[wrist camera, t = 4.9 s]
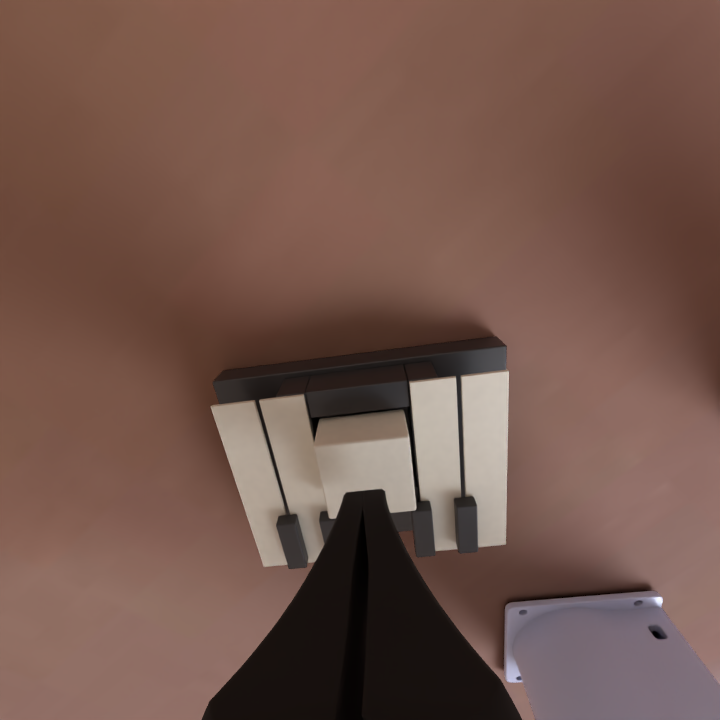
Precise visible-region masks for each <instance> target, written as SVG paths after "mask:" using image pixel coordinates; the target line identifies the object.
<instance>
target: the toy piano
mask: <svg viewBox="0 0 720 720" xmlns="http://www.w3.org/2000/svg"><path fill="white" fill-rule="evenodd" d="M506 350H507V346H506V345H505V344H504V343H503V342H502V341H501V340H500V339H499V338H498V337H496V336H495V337H487V338H479V339H471V340H463V341H456V342H448V343H440V344H432V345H424V346H416V347H408V348H400V349H392V350H384V351H376V352H368V353H360V354H352V355H344V356H336V357H328V358H321V359H313V360H305V361H297V362H289V363H281V364H273V365H265V366H257V367H249V368H241V369H233V370H225V371H222V372H221V373H220V374H219V375H218V377H217V378H216V379H215V380H214V381H213V386H214V389H215V392H216V395H217V398H218V401H219V404H226V403H235V402H243V401H251V400H255V402H256V406H257V410H258V413H259V417H260V420H261V424H262V427H263V431H264V435H265V438H266V442H267V445H268V449H269V452H270V456H271V460H272V463H273V467H274V470H275V474H276V478H277V481H278V485H279V488H280V492H281V495H282V499H283V503H284V506H285V510H286V513H287V515H290V512H289V508H288V505H287V501H286V497H285V494H284V490H283V487H282V483H281V479H280V476H279V472H278V468H277V465H276V461H275V457H274V454H273V450H272V446H271V443H270V439H269V436H268V432H267V428H266V425H265V421H264V417H263V414H262V410H261V406H260V403H259V400H260V399H268V398H276V397H285V396H293V395H301V394H304V398H305V402H306V407H307V411H308V416H309V420H310V425H311V429H312V434H313V438H314V442H315V437H316V432H317V428H318V423H319V419H322V418H330V417H339V416H348V415H356V414H365V413H373V412H382V411H391V410H399V409H403V410H404V413H405V418H406V423H407V428H408V433H409V438H410V448H411V458H412V467H413V477H414V487H415V497H416V502H421V499H420V489H419V479H418V468H417V458H416V448H415V437H414V427H413V416H412V406H411V396H410V385H409V381H418V380H426V379H434V378H442V377H451V376H456V386H457V409H458V433H459V456H460V480H461V497H465V479H464V452H463V425H462V399H461V375H467V374H476V373H484V372H492V371H501V370H506ZM391 516H392V519H393V522H394V524H395V526H396V529H397V531H398V532H401V531H412V530H413V526H412V517H411V511H405V512H395V513H391Z"/></svg>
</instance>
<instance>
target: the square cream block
mask: <svg viewBox="0 0 720 720" xmlns="http://www.w3.org/2000/svg"><path fill="white" fill-rule="evenodd" d="M313 449H314V453H315V458H316V462H317V467H318V471H319V476H320V480H321V485H322V489H323V494H324V498H325V502H326V507H327V511H328V516H329V518H330V519H334V518H336V517H337V514H338V511H339V509H340V506H341V503H342V500H343V496H344V494H345V493H346V492H354V491H364V490H374V489H383V490H384V491H385V493H386V500H387V504H388V507H389V511H390V513H395V512H405V511H415V510H416V508H417V506H416V497H415V487H414V477H413V467H412V458H411V448H410V438H409V433H408V428H407V423H406V418H405V413H404V410H403V409H399V410H391V411H382V412H373V413H365V414H356V415H348V416H339V417H330V418H322V419H319V423H318V428H317V432H316V437H315V442H314V446H313Z"/></svg>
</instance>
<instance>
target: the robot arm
mask: <svg viewBox="0 0 720 720" xmlns="http://www.w3.org/2000/svg"><path fill="white" fill-rule="evenodd" d="M662 602H663V598H662V597H661V596H660V594H659V593H658V592H656V591H642V592H630V593H617V594H605V595H593V596H581V597H569V598H557V599H545V600H532V601H520V602H511V603H508V604H507V605H506V607H505V637H504V676H505V679H506V680H507V681H508V682H512V683H513V682H523V685H524V688H525V690H526V693H527V696H528V699H529V702H530V705H531V708H532V711H533V714H534V717H535V720H720V684H719V683H718V682H717V680H716V679H715V678H714V676H713V675H712V674H711V673H710V671H709V670H708V669H707V667H706V666H705V665H704V663H703V662H702V661H701V659H700V658H699V657H698V655H697V654H696V653H695V651H694V650H693V649H692V647H691V646H690V645H689V643H688V642H687V641H686V639H685V638H684V637H683V635H682V634H681V633H680V632H679V630H678V629H677V628H676V626H675V625H674V624H673V622H672V621H671V620H670V618H669V617H668V616H667V614H666V613H665V612H664V610H663V609H662V608H661V606H662ZM202 720H522V718H521V716H520V714H519V712H518V710H517V709H516V707H515V705H514V703H513V701H512V699H511V698H510V696H509V694H508V692H507V690H506V689H505V687H504V685H503V683H502V681H501V680H500V679H499V677H498V676H497V675H496V674H495V673H494V672H493V671H492V670H491V668H490V667H489V666H488V665H487V664H486V663H485V662H484V660H483V659H482V658H481V657H480V656H479V655H478V653H477V652H476V651H475V650H474V649H473V648H472V646H471V645H470V644H469V643H468V641H467V640H466V639H465V638H464V636H463V635H462V634H461V633H460V631H459V630H458V629H457V627H456V626H455V625H454V623H453V622H452V621H451V619H450V618H449V617H448V615H447V614H446V613H445V611H444V610H443V608H442V607H441V606H440V604H439V603H438V601H437V600H436V598H435V597H434V595H433V594H432V592H431V591H430V589H429V588H428V586H427V585H426V583H425V582H424V580H423V578H422V577H421V575H420V573H419V572H418V570H417V568H416V566H415V565H414V563H413V561H412V559H411V557H410V556H409V554H408V552H407V550H406V548H405V546H404V544H403V542H402V540H401V538H400V535H399V533H398V531H397V529H396V526H395V524H394V522H393V519H392V516H391V513H390V511H389V507H388V504H387V500H386V493H385V491H384V490H383V489H374V490H364V491H354V492H346V493H345V494H344V496H343V500H342V503H341V506H340V509H339V511H338V514H337V517H336V519H335V522H334V524H333V526H332V529H331V531H330V533H329V535H328V537H327V540H326V542H325V544H324V546H323V548H322V550H321V552H320V554H319V556H318V558H317V560H316V561H315V563H314V565H313V567H312V569H311V571H310V573H309V574H308V576H307V578H306V579H305V581H304V583H303V584H302V586H301V588H300V589H299V591H298V592H297V594H296V596H295V597H294V599H293V600H292V602H291V603H290V605H289V606H288V607H287V609H286V610H285V612H284V613H283V615H282V616H281V618H280V619H279V620H278V622H277V623H276V624H275V626H274V627H273V628H272V630H271V631H270V632H269V634H268V635H267V636H266V637H265V639H264V640H263V641H262V642H261V644H260V645H259V646H258V647H257V649H256V650H255V651H254V652H253V654H252V655H251V656H250V657H249V658H248V660H247V661H246V662H245V663H244V664H243V665H242V667H241V668H240V669H239V670H238V671H237V672H236V673H235V674H234V675H233V676H232V678H231V679H230V680H229V681H228V682H227V683H226V684H225V685H224V686H223V687H222V688H221V690H220V691H219V692H218V693H217V694H216V695H215V696H214V697H213V698H212V699H211V700H210V702H209V704H208V706H207V708H206V711H205V713H204V715H203V718H202Z"/></svg>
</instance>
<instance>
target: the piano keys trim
mask: <svg viewBox="0 0 720 720" xmlns="http://www.w3.org/2000/svg"><path fill="white" fill-rule="evenodd" d="M409 385H410V396H411V406H412V416H413V427H414V437H415V448H416V458H417V468H418V479H419V489H420V499H421V502H416V506H417V508H416V510H415V511H411V517H412V526H413V535H414V544H415V552H416V556H417V557H427V556H435V554H436V553H435V551H442V550H453V549H458V552H459V553H460V554H461V553H471V552H478V547H486V546H497V545H506V504H507V447H508V390H509V371H508V370H501V371H492V372H484V373H476V374H467V375H461V399H462V425H463V452H464V479H465V497H461V480H460V456H459V433H458V409H457V386H456V376H451V377H442V378H434V379H426V380H418V381H409ZM259 403H260V406H261V410H262V414H263V417H264V421H265V425H266V428H267V432H268V436H269V439H270V443H271V446H272V450H273V454H274V457H275V461H276V465H277V468H278V472H279V476H280V479H281V483H282V487H283V490H284V494H285V497H286V501H287V505H288V508H289V512H290V515H287V513H286V510H285V506H284V503H283V499H282V495H281V492H280V488H279V485H278V481H277V478H276V474H275V470H274V467H273V463H272V460H271V456H270V452H269V449H268V445H267V442H266V438H265V435H264V431H263V427H262V424H261V420H260V417H259V413H258V410H257V406H256V402H255V400H251V401H243V402H235V403H226V404H218V405H212V406H211V410H212V413H213V416H214V419H215V422H216V425H217V428H218V431H219V434H220V437H221V440H222V443H223V446H224V449H225V452H226V455H227V458H228V461H229V464H230V467H231V470H232V473H233V476H234V479H235V482H236V485H237V488H238V491H239V494H240V497H241V500H242V503H243V506H244V509H245V512H246V515H247V518H248V521H249V524H250V527H251V530H252V533H253V536H254V539H255V542H256V545H257V548H258V551H259V554H260V557H261V560H262V563H263V566H264V567H268V566H279V565H288V568H289V569H295V568H306V567H307V563H312V562H315V561H316V560H317V558H318V556H319V554H320V552H321V550H322V548H323V546H324V544H325V542H326V540H327V537H328V535H329V533H330V531H331V529H332V526H333V524H334V522H335V519H336V518H334V519H330V518H329V516H328V511H327V507H326V502H325V498H324V494H323V489H322V485H321V480H320V476H319V471H318V467H317V462H316V458H315V453H314V449H313V446H314V438H313V434H312V429H311V425H310V420H309V416H308V411H307V407H306V402H305V398H304V394H301V395H293V396H285V397H276V398H268V399H260V400H259Z"/></svg>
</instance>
